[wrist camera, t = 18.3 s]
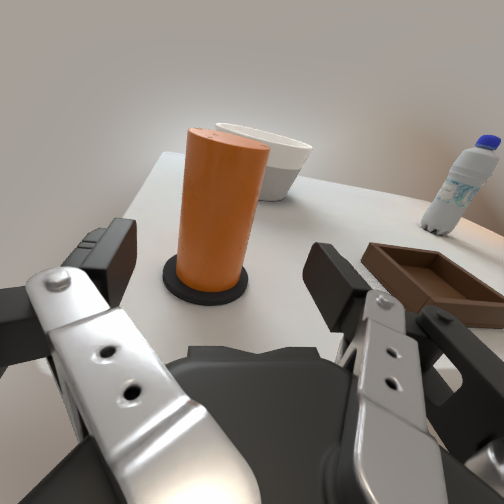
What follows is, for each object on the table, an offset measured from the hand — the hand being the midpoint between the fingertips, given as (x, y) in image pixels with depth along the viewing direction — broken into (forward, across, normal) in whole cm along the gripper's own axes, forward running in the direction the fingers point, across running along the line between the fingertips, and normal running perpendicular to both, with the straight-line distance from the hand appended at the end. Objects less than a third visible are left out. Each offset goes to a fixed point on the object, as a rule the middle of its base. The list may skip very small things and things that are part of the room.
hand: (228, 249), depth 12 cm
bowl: (+43, -10, +9) cm, 45 cm away
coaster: (+10, 0, +9) cm, 14 cm away
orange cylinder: (+10, 0, +8) cm, 13 cm away
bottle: (+34, -51, +10) cm, 62 cm away
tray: (+11, -27, +9) cm, 31 cm away
